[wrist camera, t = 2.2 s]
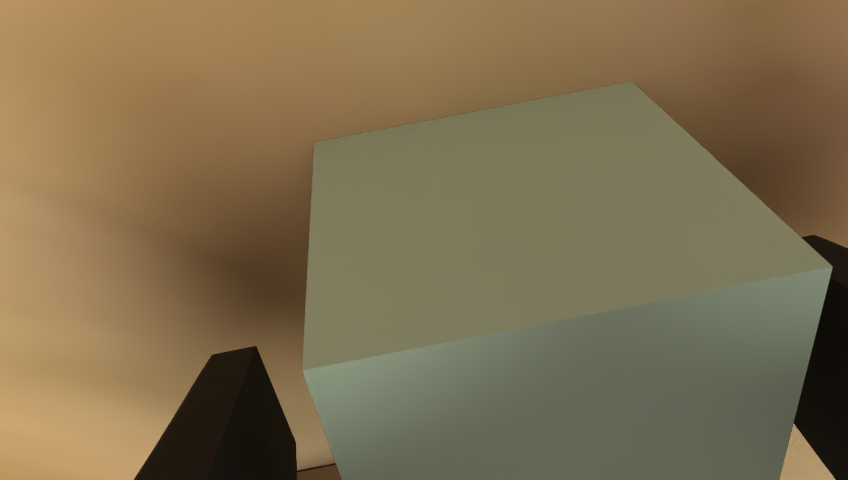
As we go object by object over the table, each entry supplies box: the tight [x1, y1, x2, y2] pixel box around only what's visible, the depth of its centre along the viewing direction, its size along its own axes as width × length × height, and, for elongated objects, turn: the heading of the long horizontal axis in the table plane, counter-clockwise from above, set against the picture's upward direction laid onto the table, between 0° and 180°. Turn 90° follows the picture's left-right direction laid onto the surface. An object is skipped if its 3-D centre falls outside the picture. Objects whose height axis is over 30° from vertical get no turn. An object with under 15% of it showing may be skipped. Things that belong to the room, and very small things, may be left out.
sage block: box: [302, 81, 833, 480], centre depth 10 cm, size 5×5×5 cm
